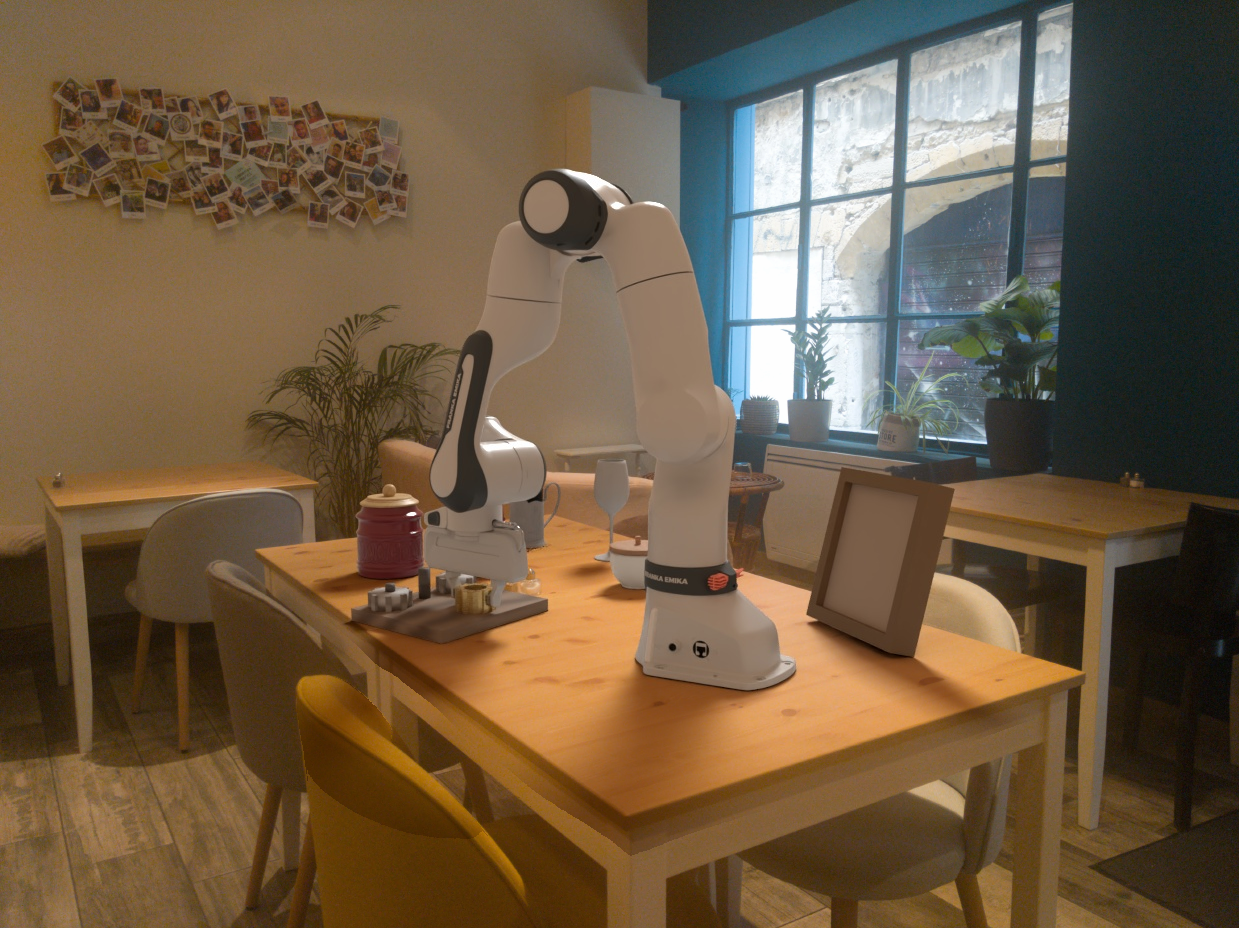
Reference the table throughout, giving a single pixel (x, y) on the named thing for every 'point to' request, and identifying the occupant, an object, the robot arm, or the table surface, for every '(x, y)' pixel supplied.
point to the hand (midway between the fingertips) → (475, 602)
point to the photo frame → (880, 558)
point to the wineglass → (611, 491)
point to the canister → (389, 535)
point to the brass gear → (473, 598)
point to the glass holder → (532, 517)
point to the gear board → (439, 610)
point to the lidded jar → (629, 562)
